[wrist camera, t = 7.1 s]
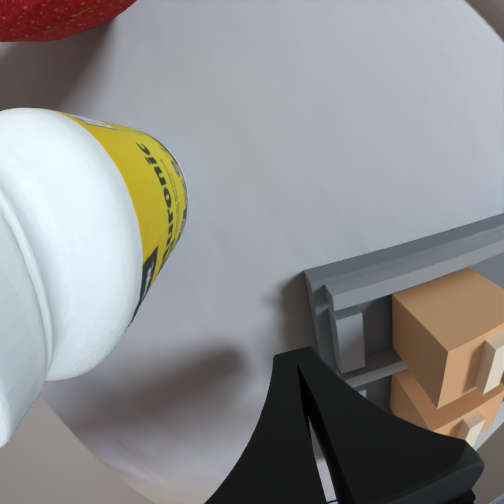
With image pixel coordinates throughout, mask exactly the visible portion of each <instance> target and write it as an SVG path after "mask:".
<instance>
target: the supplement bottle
mask: <svg viewBox="0 0 504 504" xmlns="http://www.w3.org/2000/svg"><path fill="white" fill-rule="evenodd" d="M188 203H189V197H188V188H187V183H186V179H185V176H184V173H183V171H182V168H181V167H180V165H179V163H178V161H177V159H176V158H175V156H174V155H173V154H172V152H171V151H170V150H169V149H168V148H167V147H166V146H165V145H163V144H162V143H161V142H160V141H158V140H157V139H155V138H154V137H152V136H150V135H148V134H146V133H143V132H141V131H138V130H135V129H131V128H128V127H124V126H120V125H116V124H112V123H108V122H104V121H99V120H95V119H91V118H86V117H82V116H78V115H72V114H68V113H63V112H59V111H54V110H48V109H40V108H14V109H8V110H3V111H0V448H1V447H3V446H4V445H5V444H6V443H8V441H9V440H10V439H11V437H12V435H13V433H14V432H15V430H16V429H17V427H18V425H19V423H20V422H21V420H22V419H23V417H24V415H25V414H26V412H27V411H28V409H29V408H30V406H31V405H32V404H33V403H34V401H35V400H36V399H37V398H38V396H39V394H40V392H41V390H42V388H43V385H44V382H45V381H59V380H65V379H70V378H74V377H77V376H79V375H81V374H84V373H86V372H88V371H90V370H91V369H93V368H94V367H96V366H97V365H98V364H100V363H101V362H102V361H103V360H104V359H105V358H106V357H107V356H108V355H109V354H110V353H111V352H112V350H113V349H114V348H115V347H116V345H117V344H118V342H119V341H120V339H121V338H122V336H123V334H124V333H125V332H126V330H127V328H128V327H129V325H130V324H131V322H132V321H133V319H134V317H135V315H136V313H137V311H138V308H139V307H140V305H141V303H142V301H143V300H144V298H145V296H146V294H147V292H148V291H149V289H150V287H151V285H152V284H153V282H154V280H155V278H156V277H157V275H158V273H159V272H160V270H161V268H162V267H163V265H164V263H165V262H166V260H167V259H168V257H169V255H170V253H171V252H172V250H173V249H174V247H175V245H176V243H177V242H178V240H179V238H180V236H181V233H182V231H183V228H184V226H185V222H186V219H187V214H188Z"/></svg>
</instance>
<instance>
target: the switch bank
mask: <svg viewBox="0 0 504 504" xmlns="http://www.w3.org/2000/svg"><path fill="white" fill-rule="evenodd" d="M467 267H469V268H470V269H472V270H474V271H475V272H477V273H479V274H480V275H482V276H484V277H485V278H487V279H489V280H490V281H492V282H493V283H495V284H497V285H498V286H500V287H501V288H503V289H504V213H503V214H500V215H497V216H494V217H491V218H488V219H484V220H481V221H478V222H475V223H472V224H468V225H465V226H462V227H458V228H455V229H452V230H449V231H445V232H442V233H438V234H435V235H432V236H428V237H425V238H421V239H418V240H415V241H411V242H408V243H404V244H401V245H397V246H394V247H390V248H386V249H383V250H379V251H376V252H372V253H368V254H365V255H361V256H358V257H354V258H350V259H346V260H343V261H339V262H335V263H331V264H328V265H324V266H320V267H316V268H312V269H309V270H305V271H304V275H305V280H306V286H307V291H308V296H309V302H310V307H311V313H312V319H313V324H314V330H315V336H316V342H317V348H318V354H319V356H320V357H321V358H322V359H323V360H324V362H325V363H326V364H327V365H328V366H329V367H330V368H331V369H332V370H333V371H334V372H335V373H336V374H337V375H338V376H340V377H341V378H342V379H343V380H344V381H345V382H346V383H347V384H349V385H350V386H351V387H352V388H354V389H355V390H356V391H357V392H359V393H360V394H361V395H363V396H364V397H366V398H367V399H368V400H370V401H371V402H373V403H375V404H376V405H378V406H379V407H381V408H383V409H384V410H386V411H388V412H390V413H392V414H393V415H394V413H393V411H392V410H391V408H390V397H391V379H392V374H394V373H396V372H399V371H402V370H404V369H407V368H408V367H407V366H406V365H405V363H404V362H403V361H402V359H401V358H400V356H399V355H398V354H397V352H396V351H395V350H394V348H393V322H392V294H394V293H397V292H400V291H403V290H406V289H409V288H412V287H415V286H418V285H420V284H423V283H426V282H429V281H432V280H435V279H437V278H440V277H443V276H445V275H448V274H451V273H453V272H456V271H459V270H461V269H464V268H467ZM503 401H504V399H503V400H502V402H503ZM502 402H501V403H502Z"/></svg>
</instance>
